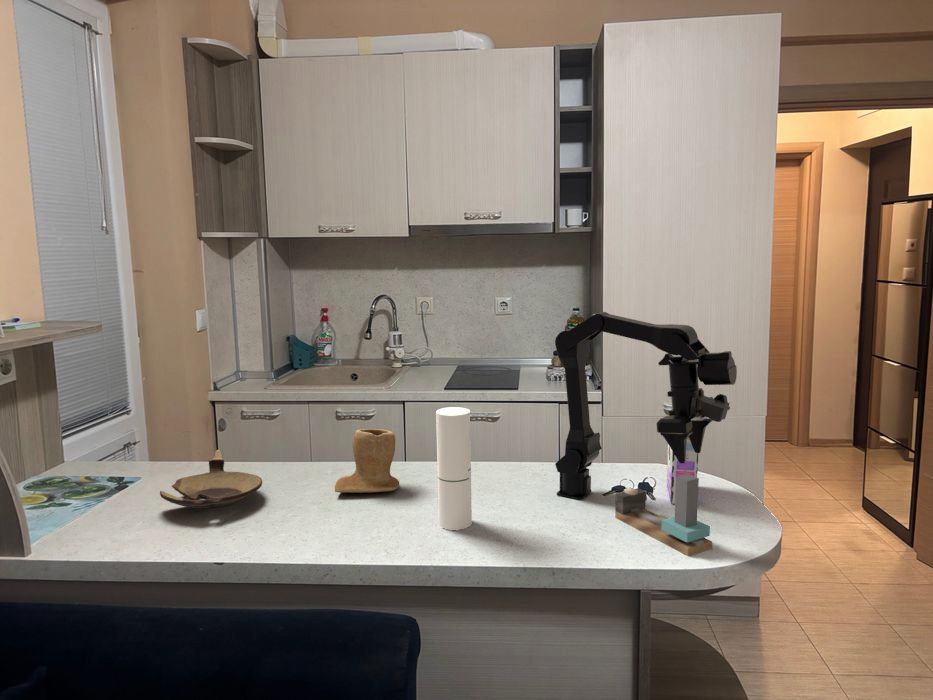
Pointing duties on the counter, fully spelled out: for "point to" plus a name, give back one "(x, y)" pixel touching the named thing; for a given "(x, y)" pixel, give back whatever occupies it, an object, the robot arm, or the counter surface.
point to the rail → (652, 522)
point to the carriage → (686, 512)
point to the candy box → (680, 468)
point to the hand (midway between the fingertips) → (690, 457)
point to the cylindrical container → (454, 467)
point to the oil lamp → (214, 486)
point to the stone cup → (370, 463)
